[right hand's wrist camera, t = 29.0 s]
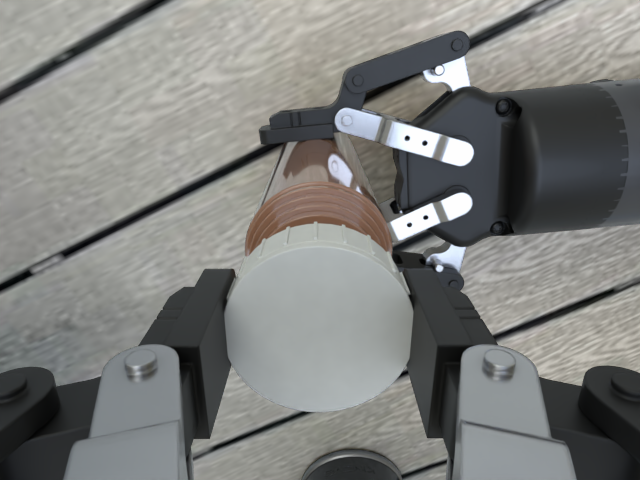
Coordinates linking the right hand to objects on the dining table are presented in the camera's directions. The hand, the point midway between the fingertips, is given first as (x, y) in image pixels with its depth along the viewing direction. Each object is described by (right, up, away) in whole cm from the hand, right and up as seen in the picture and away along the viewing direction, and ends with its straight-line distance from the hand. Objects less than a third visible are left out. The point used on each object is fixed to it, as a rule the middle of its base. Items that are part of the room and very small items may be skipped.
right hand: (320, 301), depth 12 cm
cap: (0, 0, -1) cm, 1 cm away
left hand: (-3, +4, +12) cm, 13 cm away
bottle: (0, +7, +18) cm, 20 cm away
